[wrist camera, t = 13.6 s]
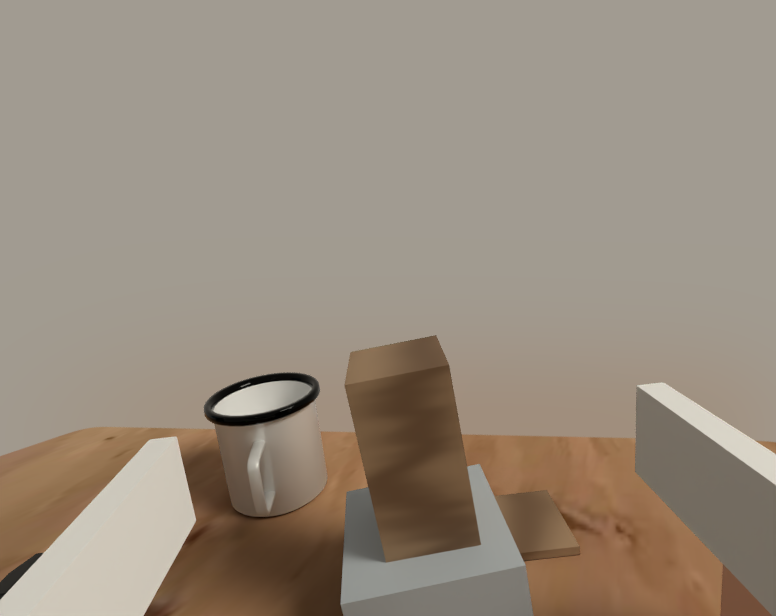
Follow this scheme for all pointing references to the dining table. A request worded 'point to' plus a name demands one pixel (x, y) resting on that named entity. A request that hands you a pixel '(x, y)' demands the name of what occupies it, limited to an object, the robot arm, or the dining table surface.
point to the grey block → (434, 567)
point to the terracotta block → (738, 598)
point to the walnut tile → (537, 525)
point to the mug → (269, 442)
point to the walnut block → (412, 448)
